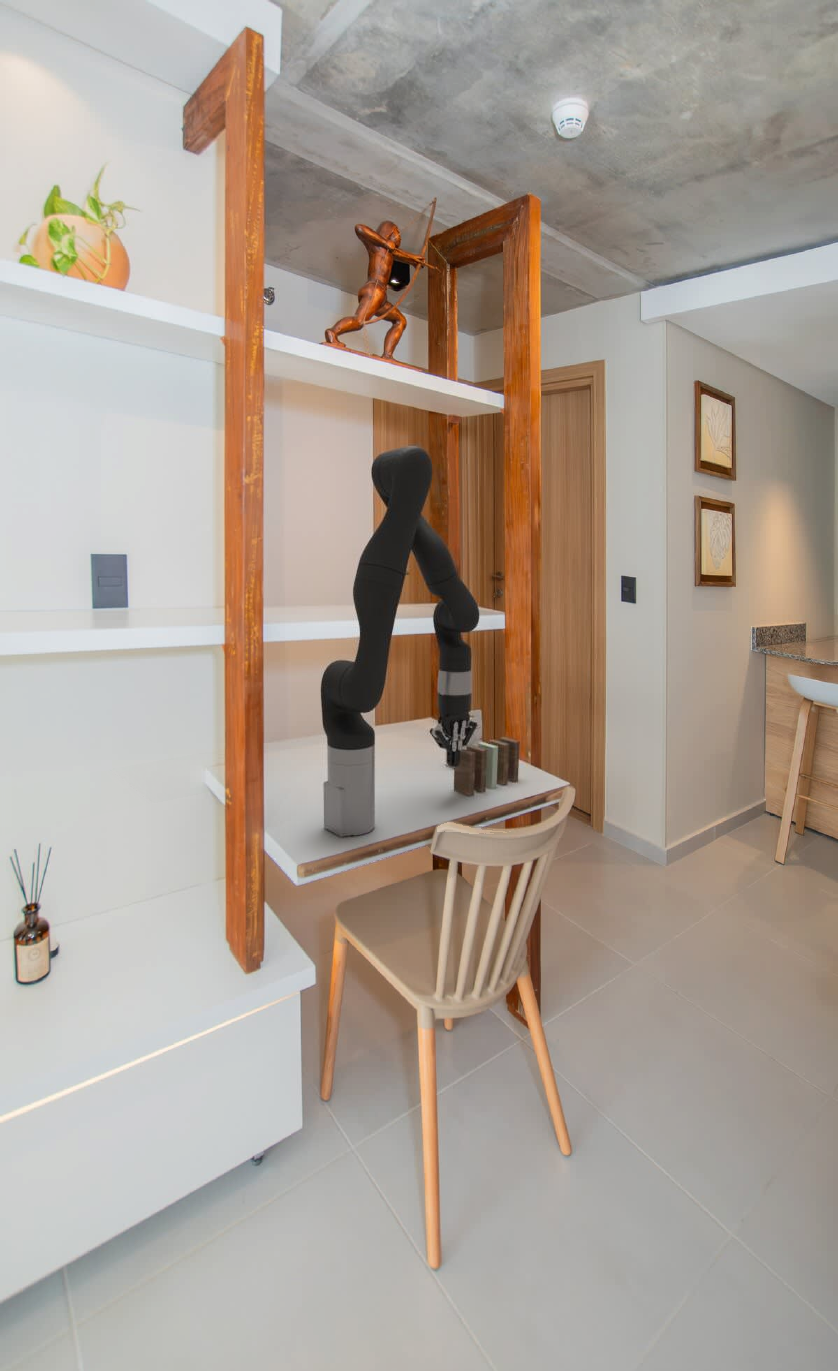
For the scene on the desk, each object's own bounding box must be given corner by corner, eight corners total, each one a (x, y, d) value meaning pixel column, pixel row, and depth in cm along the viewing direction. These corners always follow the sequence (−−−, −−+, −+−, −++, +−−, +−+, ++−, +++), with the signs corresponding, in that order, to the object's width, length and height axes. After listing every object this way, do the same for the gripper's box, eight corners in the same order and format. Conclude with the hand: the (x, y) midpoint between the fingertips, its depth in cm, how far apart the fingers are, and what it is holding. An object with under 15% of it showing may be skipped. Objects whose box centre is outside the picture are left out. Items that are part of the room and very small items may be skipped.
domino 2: (480, 792, 152) (482, 750, 150) (465, 786, 155) (466, 745, 153) (485, 791, 153) (487, 749, 151) (470, 785, 156) (471, 744, 154)
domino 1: (469, 796, 149) (470, 753, 147) (453, 790, 153) (454, 748, 151) (474, 794, 150) (475, 752, 148) (458, 788, 154) (459, 747, 152)
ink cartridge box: (469, 759, 176) (470, 705, 174) (481, 764, 173) (483, 709, 170) (444, 765, 171) (445, 709, 169) (456, 770, 168) (457, 713, 165)
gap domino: (491, 788, 154) (493, 747, 152) (476, 783, 158) (477, 743, 156) (496, 787, 155) (498, 746, 153) (481, 781, 159) (482, 741, 157)
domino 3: (502, 785, 156) (504, 745, 155) (487, 780, 160) (489, 740, 158) (507, 784, 158) (509, 743, 156) (492, 778, 161) (493, 739, 159)
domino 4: (513, 782, 159) (515, 742, 157) (498, 777, 163) (499, 737, 161) (517, 780, 160) (519, 741, 158) (502, 775, 164) (504, 736, 162)
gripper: (464, 684, 151) (462, 756, 155) (420, 691, 143) (419, 767, 146) (487, 689, 146) (485, 764, 149) (444, 696, 137) (442, 776, 141)
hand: (453, 765), depth 148 cm, fingers closed
